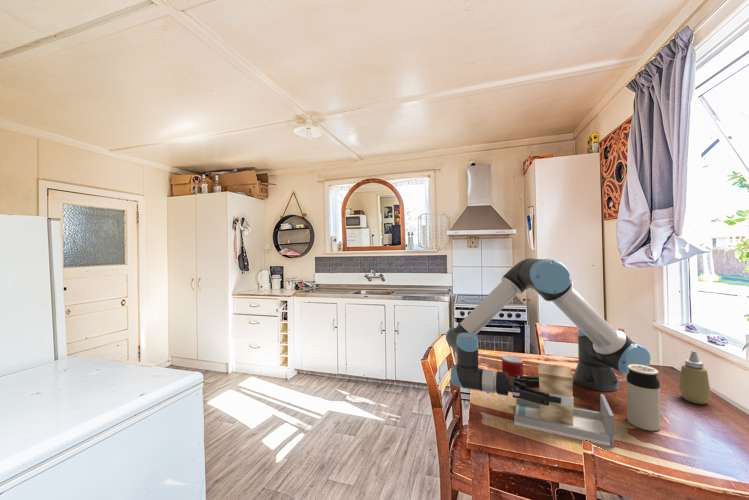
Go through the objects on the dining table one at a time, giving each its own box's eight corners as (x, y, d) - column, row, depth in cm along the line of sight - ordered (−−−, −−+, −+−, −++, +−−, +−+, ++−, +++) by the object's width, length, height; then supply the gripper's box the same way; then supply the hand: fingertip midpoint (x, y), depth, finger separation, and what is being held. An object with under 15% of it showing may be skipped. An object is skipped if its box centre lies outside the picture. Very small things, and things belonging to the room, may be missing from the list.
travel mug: (663, 434, 93) (662, 375, 93) (629, 427, 97) (628, 370, 97) (656, 421, 100) (656, 366, 100) (625, 415, 104) (624, 362, 104)
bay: (604, 422, 100) (604, 394, 100) (614, 447, 88) (613, 415, 88) (516, 404, 112) (516, 380, 112) (514, 424, 100) (513, 397, 100)
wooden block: (570, 415, 102) (570, 367, 102) (574, 430, 94) (573, 378, 94) (538, 408, 107) (538, 362, 107) (539, 422, 98) (538, 373, 98)
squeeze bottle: (703, 397, 115) (702, 349, 114) (716, 408, 107) (715, 356, 107) (674, 393, 118) (674, 346, 118) (685, 403, 111) (684, 353, 111)
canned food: (525, 389, 124) (525, 362, 124) (504, 388, 126) (504, 361, 125) (520, 381, 131) (520, 355, 131) (500, 380, 133) (500, 354, 133)
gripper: (499, 380, 118) (567, 392, 108) (493, 407, 99) (576, 424, 89) (498, 361, 118) (567, 370, 108) (492, 384, 99) (576, 398, 89)
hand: (571, 394), depth 98 cm, fingers closed on wooden block, 9 cm apart
